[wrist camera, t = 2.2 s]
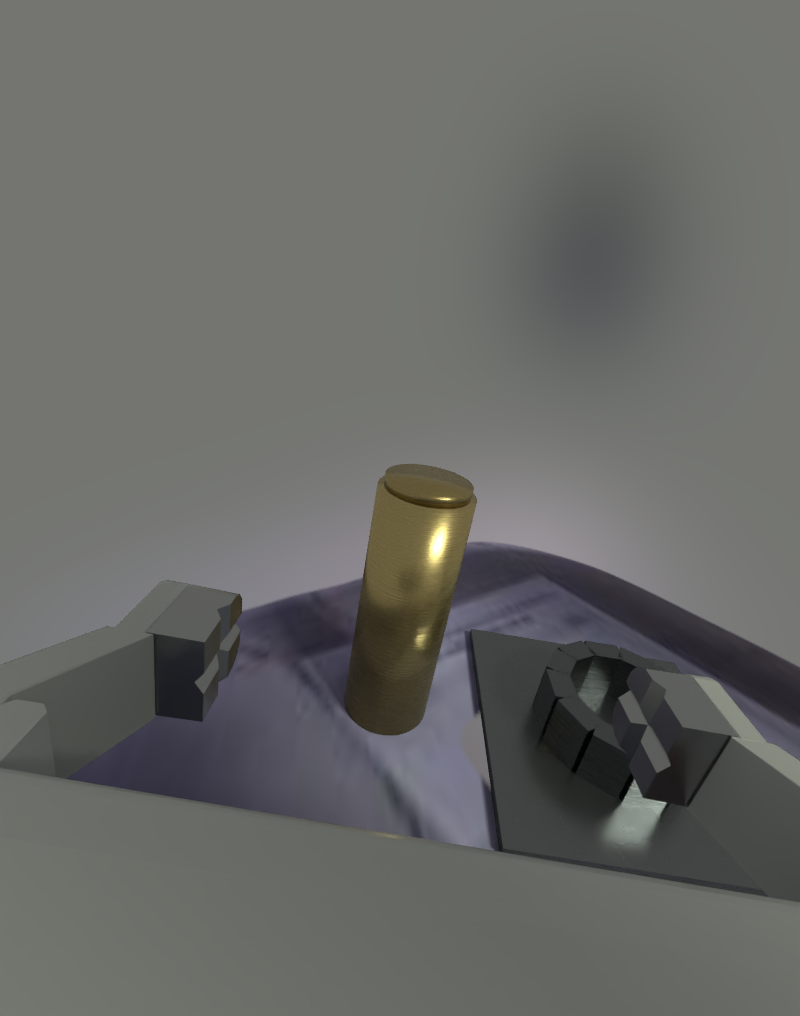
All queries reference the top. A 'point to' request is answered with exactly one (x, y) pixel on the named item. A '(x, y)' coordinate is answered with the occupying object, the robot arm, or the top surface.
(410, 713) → the cylinder
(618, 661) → the square socket base
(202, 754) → the top surface
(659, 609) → the top surface
